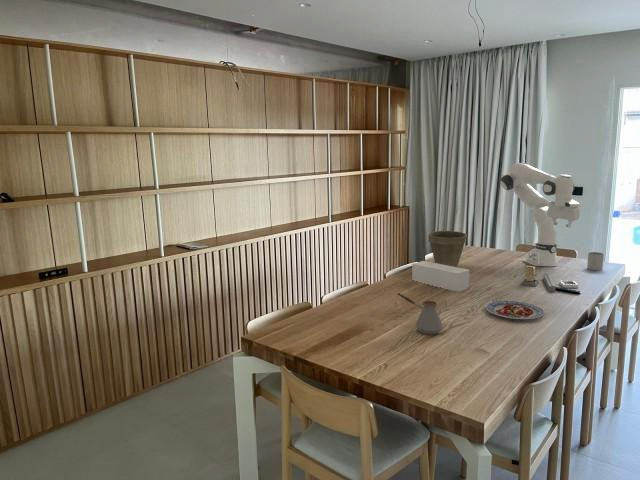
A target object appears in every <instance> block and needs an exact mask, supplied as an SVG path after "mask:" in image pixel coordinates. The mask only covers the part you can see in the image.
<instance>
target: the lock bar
mask: <svg viewBox="0 0 640 480" xmlns="http://www.w3.org/2000/svg"><path fill="white" fill-rule="evenodd" d="M525 269H526V270H525V271H526V272H525V278H526V282H534V279H535V280H536V277H535V276H536V266H534V265H527V266H526V268H525Z"/></svg>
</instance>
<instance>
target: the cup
mask: <svg viewBox="0 0 640 480" xmlns="http://www.w3.org/2000/svg"><path fill="white" fill-rule="evenodd" d="M604 256H605V253H602V252H597V251H596V252H595V251H594V252H593V251H589V252H588V255H587V263H586V264H587V265H586V269H588V270H589V269H590V270H591V271H597V272H599V271H603V269H604V268H603V267H604Z"/></svg>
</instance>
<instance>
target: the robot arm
mask: <svg viewBox="0 0 640 480" xmlns="http://www.w3.org/2000/svg"><path fill="white" fill-rule="evenodd" d="M499 183H500V186H501V187H502V188H503V189H504V190H505V191H510V190H513V192H514V194H515V195H516V197H518V199H519V200H520V201H521V202H522V203H523V204H524V205H525V206H526V207H528V208H529V209H530V210H532V211H533V212H532V219H533V221H534V222H535V223H536V226H537V242H536V243H534V246H535V248H534V247H533V248H532V249H531V250H529V251H528V252H527V254H526V258H523V259H522V262H525V263H526V264H529V265H531V266H534V267H536V266H537V267H557V266H558V261H557V259H558V257H557V249H558V248H557V247H558V244H557V236H558V234H557V233H558V232H557V230H556V229H555V226H558V223H559V222H558V221H560V220H567V221H568V222H567V224H566V225H565V226H566V228H571V227H572V226H571V225H572V224H573V223H574V221H579V219H580V208H579V207H580V206H581V205H580V203H579V202H578V201H576V200H574V199H573V192H574V190H575V184H574V178H573V176H572V175H569V174H566V173H565V174H563V173H561V174H558V175H557V176H555V175H553V174H551V173H548V172H547V173H546V172H544V171H542V170H541V169H540V170H539V169H538V168H535V167H534V166H531V165H529V164H528V163H523V162H516V163H514V164H512V165H511V166H510V170H509V171H508V172H506V174H504V175H502V177H500V179H499ZM532 185H542V192H543V194H544V195H546V196H549V197H555V198H554V201H550V200H549V199H547V198H546V197H544V196H543V195H542V194H541V193H540V192H539V191H537V190H536V189H535V188H534V187H533V186H532Z"/></svg>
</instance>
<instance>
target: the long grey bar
mask: <svg viewBox="0 0 640 480" xmlns="http://www.w3.org/2000/svg"><path fill="white" fill-rule="evenodd" d="M542 277H543V281H544V283H545V286H546V287H547V290H548V292H549V293H550V292H553V293H555V292H556V285H555V283H554V281H553V279H552V276H551V275H550V274H549V273H543V276H542Z"/></svg>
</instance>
